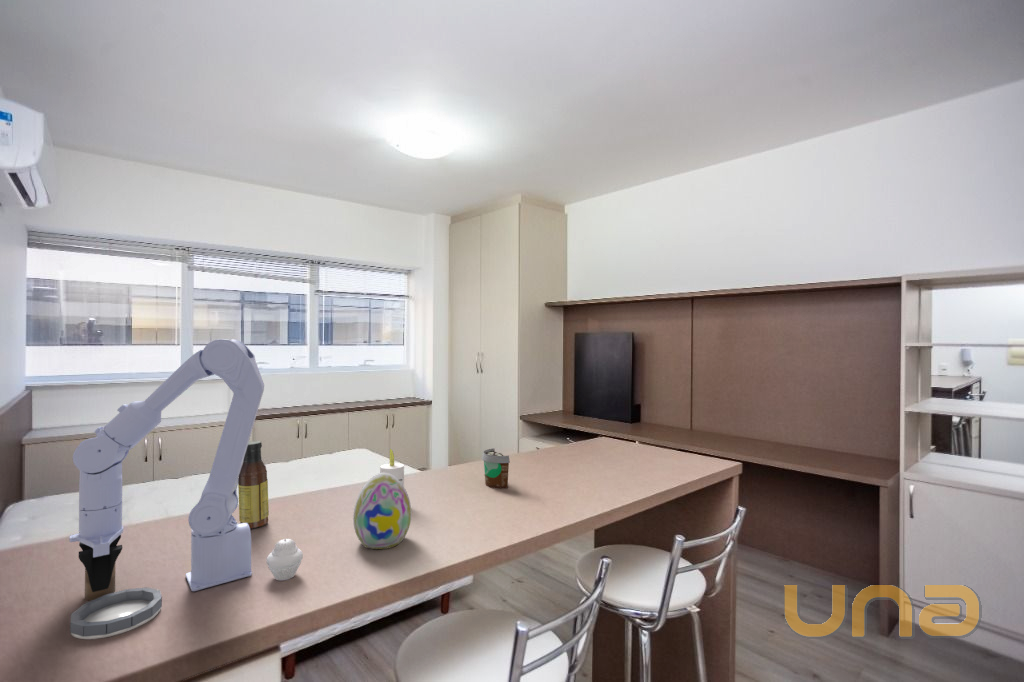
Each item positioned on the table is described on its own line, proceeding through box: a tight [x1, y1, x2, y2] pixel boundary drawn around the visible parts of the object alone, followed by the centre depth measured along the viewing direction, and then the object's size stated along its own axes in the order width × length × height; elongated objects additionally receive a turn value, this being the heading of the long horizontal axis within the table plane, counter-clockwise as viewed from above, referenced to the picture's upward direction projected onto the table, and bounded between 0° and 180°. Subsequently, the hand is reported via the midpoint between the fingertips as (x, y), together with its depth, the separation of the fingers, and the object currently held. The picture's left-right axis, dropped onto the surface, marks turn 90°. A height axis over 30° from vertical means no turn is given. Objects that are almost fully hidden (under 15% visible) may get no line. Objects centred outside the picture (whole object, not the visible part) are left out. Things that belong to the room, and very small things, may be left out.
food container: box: [481, 447, 511, 489], centre depth 149 cm, size 12×6×10 cm, turn 25°
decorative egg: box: [352, 472, 412, 550], centre depth 106 cm, size 12×12×15 cm
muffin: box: [266, 538, 304, 581], centre depth 90 cm, size 6×6×7 cm
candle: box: [379, 448, 405, 487], centre depth 130 cm, size 6×6×15 cm
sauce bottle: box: [237, 440, 270, 530], centre depth 116 cm, size 7×6×20 cm
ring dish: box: [69, 587, 163, 640], centre depth 76 cm, size 11×11×2 cm
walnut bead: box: [84, 564, 116, 601], centre depth 84 cm, size 4×4×6 cm
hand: (100, 584), depth 84 cm, fingers closed on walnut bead, 4 cm apart
